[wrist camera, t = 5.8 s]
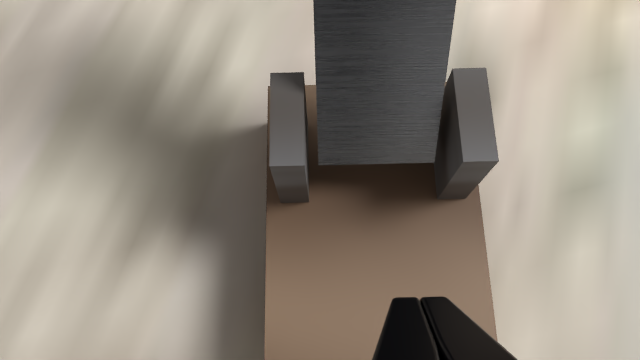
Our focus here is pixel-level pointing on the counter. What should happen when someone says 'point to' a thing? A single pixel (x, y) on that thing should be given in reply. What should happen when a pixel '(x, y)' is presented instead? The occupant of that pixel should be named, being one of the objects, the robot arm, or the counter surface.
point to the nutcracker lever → (380, 79)
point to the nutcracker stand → (371, 226)
